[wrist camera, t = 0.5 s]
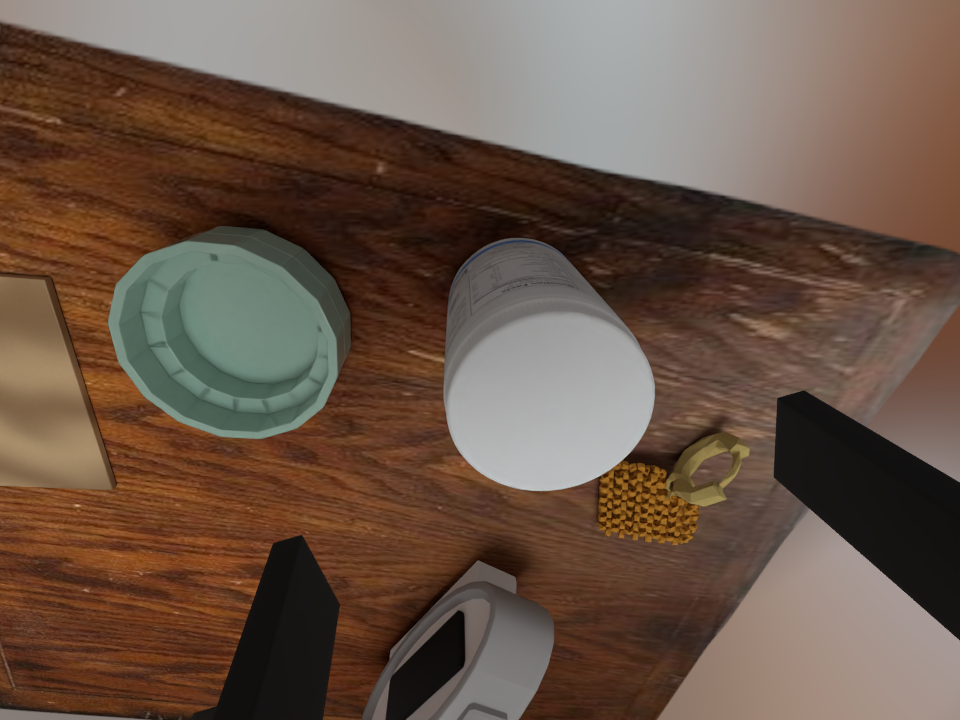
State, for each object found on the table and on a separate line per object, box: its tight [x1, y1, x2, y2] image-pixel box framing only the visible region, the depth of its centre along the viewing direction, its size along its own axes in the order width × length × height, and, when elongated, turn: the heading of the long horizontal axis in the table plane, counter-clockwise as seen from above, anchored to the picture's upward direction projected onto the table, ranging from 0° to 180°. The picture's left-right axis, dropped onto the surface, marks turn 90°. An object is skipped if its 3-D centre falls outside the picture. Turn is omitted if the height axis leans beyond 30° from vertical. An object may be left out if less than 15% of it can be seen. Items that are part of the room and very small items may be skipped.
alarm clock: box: [362, 560, 554, 720], centre depth 43 cm, size 23×6×13 cm, turn 145°
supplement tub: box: [444, 238, 655, 491], centre depth 27 cm, size 10×10×15 cm
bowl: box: [108, 226, 351, 439], centre depth 31 cm, size 13×13×5 cm
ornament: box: [598, 432, 750, 545], centre depth 39 cm, size 7×10×15 cm
